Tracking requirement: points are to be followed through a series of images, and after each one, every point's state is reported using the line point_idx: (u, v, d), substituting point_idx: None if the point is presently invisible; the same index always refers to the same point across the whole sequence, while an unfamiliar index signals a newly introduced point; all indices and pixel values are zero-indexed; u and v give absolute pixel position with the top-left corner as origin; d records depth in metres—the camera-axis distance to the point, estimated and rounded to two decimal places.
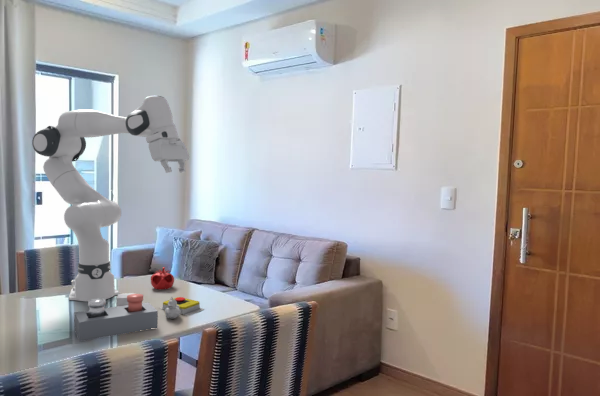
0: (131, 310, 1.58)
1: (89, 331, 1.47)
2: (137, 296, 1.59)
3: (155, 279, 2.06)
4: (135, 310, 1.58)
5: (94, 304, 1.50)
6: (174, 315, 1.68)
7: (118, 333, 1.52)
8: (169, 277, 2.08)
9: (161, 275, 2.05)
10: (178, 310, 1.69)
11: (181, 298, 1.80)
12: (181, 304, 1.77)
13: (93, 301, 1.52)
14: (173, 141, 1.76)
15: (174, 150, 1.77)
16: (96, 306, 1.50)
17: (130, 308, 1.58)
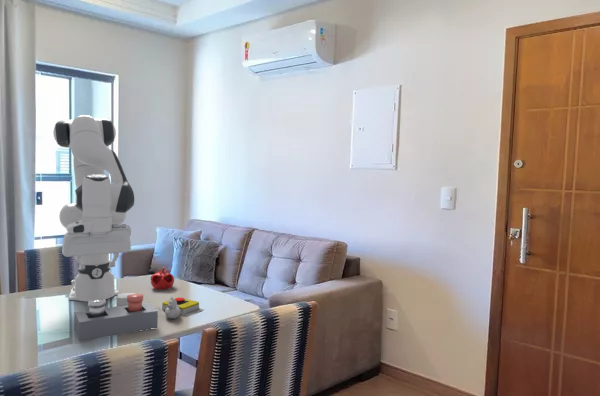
0: (131, 310, 1.58)
1: (89, 331, 1.47)
2: (137, 296, 1.59)
3: (155, 279, 2.06)
4: (135, 310, 1.58)
5: (94, 304, 1.50)
6: (174, 315, 1.68)
7: (118, 333, 1.52)
8: (169, 277, 2.08)
9: (161, 275, 2.05)
10: (178, 310, 1.69)
11: (180, 298, 1.80)
12: (180, 304, 1.76)
13: (93, 301, 1.52)
14: (96, 235, 1.48)
15: (99, 244, 1.50)
16: (96, 306, 1.50)
17: (130, 308, 1.58)
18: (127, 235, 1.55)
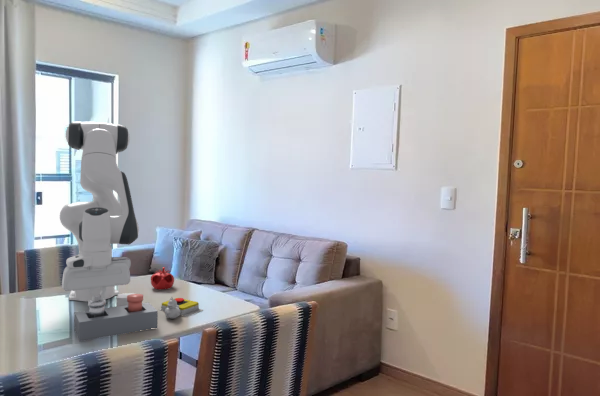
0: (131, 310, 1.58)
1: (89, 331, 1.47)
2: (137, 296, 1.59)
3: (155, 279, 2.06)
4: (135, 310, 1.58)
5: (94, 304, 1.50)
6: (174, 315, 1.68)
7: (118, 333, 1.52)
8: (169, 277, 2.08)
9: (161, 275, 2.05)
10: (178, 310, 1.69)
11: (180, 299, 1.79)
12: (180, 305, 1.76)
13: None
14: (96, 269, 1.49)
15: (98, 277, 1.51)
16: (96, 306, 1.50)
17: (130, 308, 1.58)
18: (127, 267, 1.55)
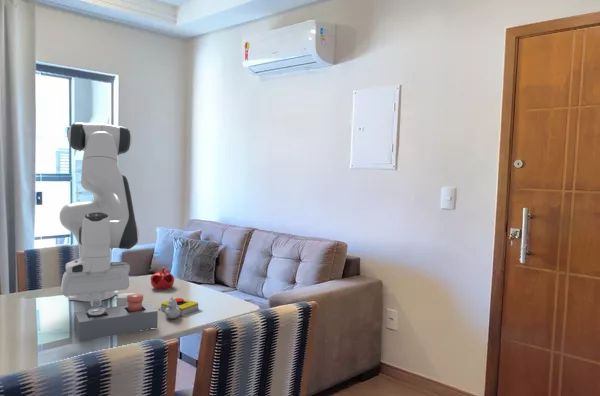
0: (131, 310, 1.58)
1: (89, 331, 1.47)
2: (137, 296, 1.59)
3: (155, 279, 2.06)
4: (135, 310, 1.58)
5: (94, 314, 1.51)
6: (174, 315, 1.68)
7: (118, 333, 1.52)
8: (169, 277, 2.08)
9: (161, 275, 2.05)
10: (178, 310, 1.69)
11: (180, 299, 1.79)
12: (179, 305, 1.76)
13: (93, 310, 1.52)
14: (95, 274, 1.49)
15: (97, 282, 1.51)
16: (96, 315, 1.51)
17: (130, 308, 1.58)
18: (126, 273, 1.56)
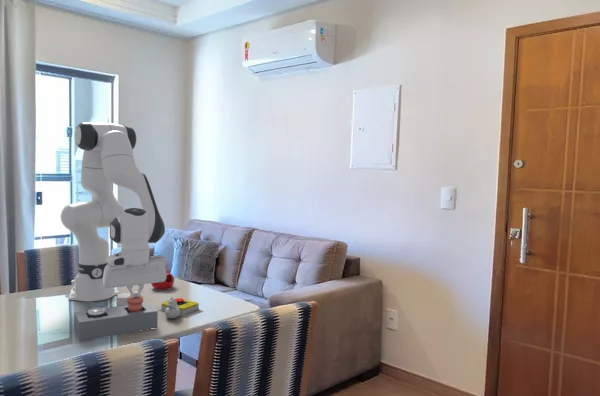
0: None
1: (89, 331, 1.47)
2: (137, 298, 1.59)
3: None
4: None
5: (94, 314, 1.51)
6: (174, 315, 1.68)
7: (118, 333, 1.52)
8: (169, 277, 2.08)
9: None
10: (178, 310, 1.69)
11: (180, 299, 1.79)
12: (180, 305, 1.75)
13: (93, 310, 1.52)
14: (135, 267, 1.55)
15: (137, 275, 1.57)
16: (96, 315, 1.51)
17: (130, 310, 1.58)
18: (163, 266, 1.62)
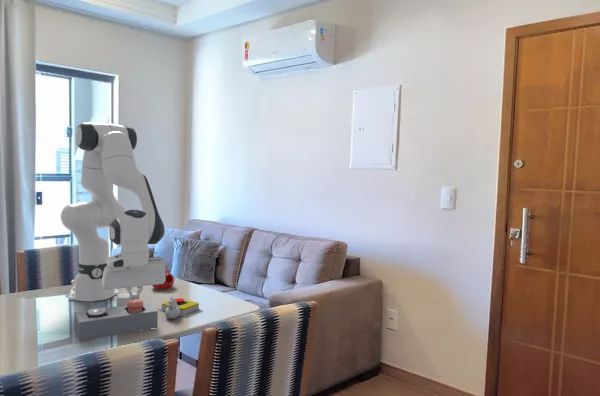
0: None
1: (89, 331, 1.47)
2: (137, 302, 1.59)
3: None
4: None
5: (94, 314, 1.51)
6: (174, 315, 1.68)
7: (118, 333, 1.52)
8: (169, 277, 2.08)
9: None
10: (178, 310, 1.69)
11: (180, 299, 1.79)
12: (180, 305, 1.75)
13: (93, 310, 1.52)
14: (134, 269, 1.56)
15: (136, 277, 1.57)
16: (96, 315, 1.51)
17: None
18: (162, 268, 1.62)
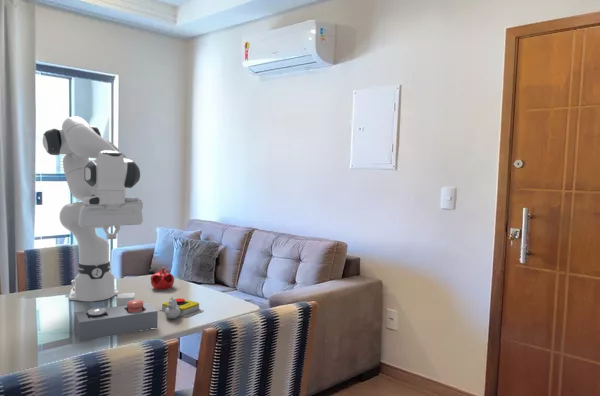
0: None
1: (89, 331, 1.47)
2: (137, 302, 1.59)
3: (155, 279, 2.06)
4: None
5: (94, 314, 1.51)
6: (174, 315, 1.68)
7: (118, 333, 1.52)
8: (169, 277, 2.08)
9: (161, 275, 2.05)
10: (178, 310, 1.69)
11: (180, 299, 1.79)
12: (180, 305, 1.75)
13: (93, 310, 1.52)
14: (110, 207, 1.57)
15: (113, 216, 1.59)
16: (96, 315, 1.51)
17: None
18: (139, 208, 1.64)
